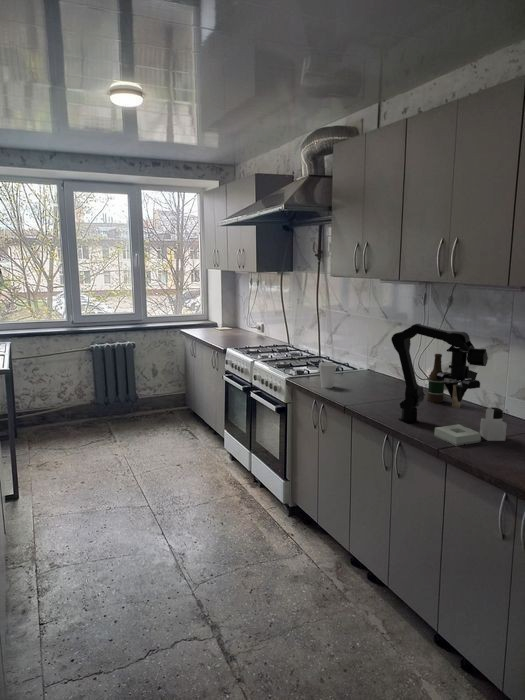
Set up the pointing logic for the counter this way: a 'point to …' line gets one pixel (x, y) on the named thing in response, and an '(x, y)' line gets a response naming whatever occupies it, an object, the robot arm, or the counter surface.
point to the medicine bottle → (493, 425)
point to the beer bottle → (436, 382)
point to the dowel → (455, 397)
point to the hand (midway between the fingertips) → (456, 400)
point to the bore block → (457, 434)
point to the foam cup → (327, 374)
